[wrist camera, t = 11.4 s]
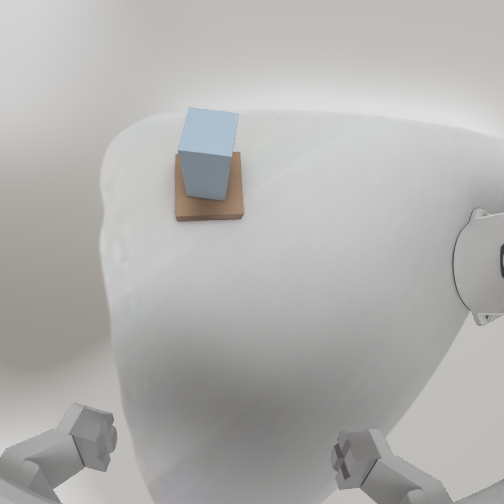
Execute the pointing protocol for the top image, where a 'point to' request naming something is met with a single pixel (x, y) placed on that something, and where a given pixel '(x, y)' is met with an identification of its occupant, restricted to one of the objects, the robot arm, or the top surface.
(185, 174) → the pillar
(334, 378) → the top surface
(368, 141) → the top surface
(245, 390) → the top surface
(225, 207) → the base block
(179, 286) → the top surface
